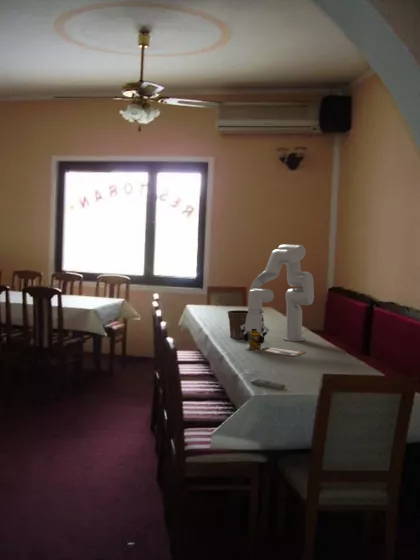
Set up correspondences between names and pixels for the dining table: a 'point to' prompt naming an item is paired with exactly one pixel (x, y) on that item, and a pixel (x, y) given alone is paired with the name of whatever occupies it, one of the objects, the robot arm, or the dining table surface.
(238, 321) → the plant pot
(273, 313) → the dining table surface
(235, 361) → the dining table surface
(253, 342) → the condiment
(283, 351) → the clipboard
